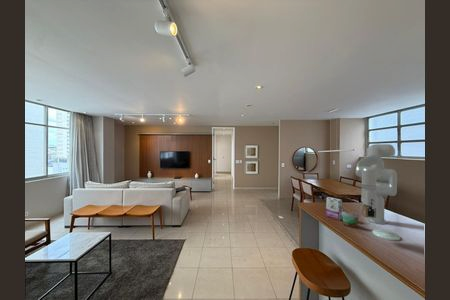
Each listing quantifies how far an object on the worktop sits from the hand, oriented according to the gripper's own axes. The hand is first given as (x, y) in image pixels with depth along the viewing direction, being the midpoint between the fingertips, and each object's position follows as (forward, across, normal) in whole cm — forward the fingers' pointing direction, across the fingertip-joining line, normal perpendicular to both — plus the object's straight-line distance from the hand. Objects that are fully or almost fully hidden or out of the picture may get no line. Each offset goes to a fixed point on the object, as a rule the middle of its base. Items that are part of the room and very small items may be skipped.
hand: (368, 214), depth 123 cm
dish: (+16, -7, +13) cm, 22 cm away
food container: (+16, -18, -6) cm, 25 cm away
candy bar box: (+16, -33, -12) cm, 39 cm away
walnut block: (+1, 0, 0) cm, 1 cm away
